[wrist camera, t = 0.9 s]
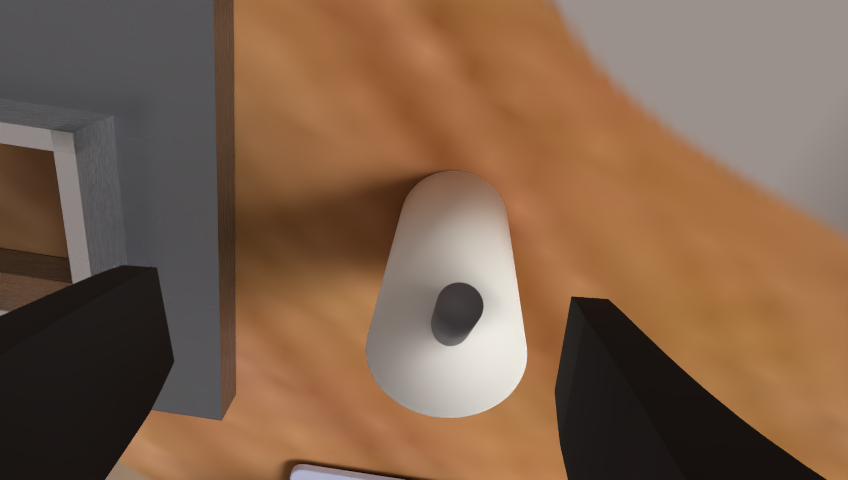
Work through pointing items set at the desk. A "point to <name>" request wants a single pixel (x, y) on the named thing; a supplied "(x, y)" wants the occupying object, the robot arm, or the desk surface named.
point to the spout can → (449, 302)
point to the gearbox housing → (134, 164)
